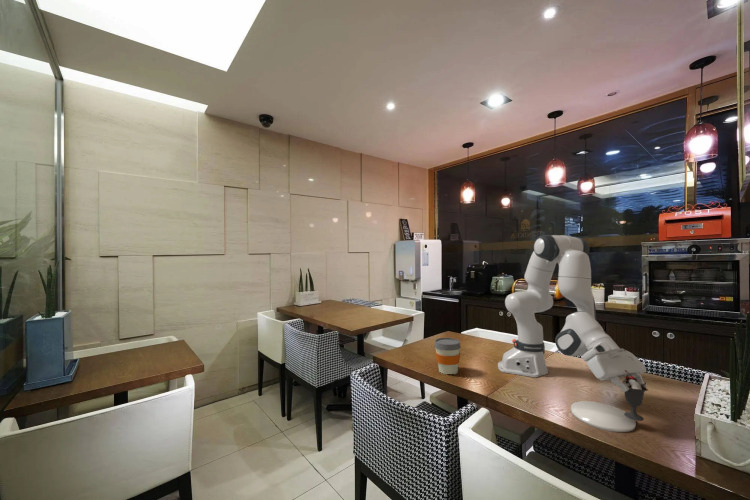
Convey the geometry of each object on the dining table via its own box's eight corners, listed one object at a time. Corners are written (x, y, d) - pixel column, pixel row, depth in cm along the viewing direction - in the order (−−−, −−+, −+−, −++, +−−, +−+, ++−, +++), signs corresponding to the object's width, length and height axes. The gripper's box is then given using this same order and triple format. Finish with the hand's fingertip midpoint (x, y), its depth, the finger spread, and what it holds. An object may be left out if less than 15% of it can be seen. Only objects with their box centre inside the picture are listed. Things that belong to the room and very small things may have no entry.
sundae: (615, 411, 102) (615, 367, 103) (633, 411, 103) (633, 367, 103) (633, 422, 96) (633, 375, 96) (652, 421, 96) (652, 375, 97)
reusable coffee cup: (451, 378, 140) (450, 346, 141) (430, 371, 150) (429, 341, 150) (466, 371, 149) (465, 340, 149) (445, 364, 158) (444, 336, 158)
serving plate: (579, 427, 99) (579, 423, 99) (565, 401, 116) (564, 398, 116) (647, 436, 94) (647, 432, 94) (621, 408, 111) (621, 404, 111)
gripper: (618, 352, 114) (649, 389, 104) (577, 357, 107) (606, 397, 98) (631, 343, 109) (664, 381, 100) (590, 348, 103) (621, 389, 94)
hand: (635, 389), depth 99 cm, fingers closed on sundae, 7 cm apart
